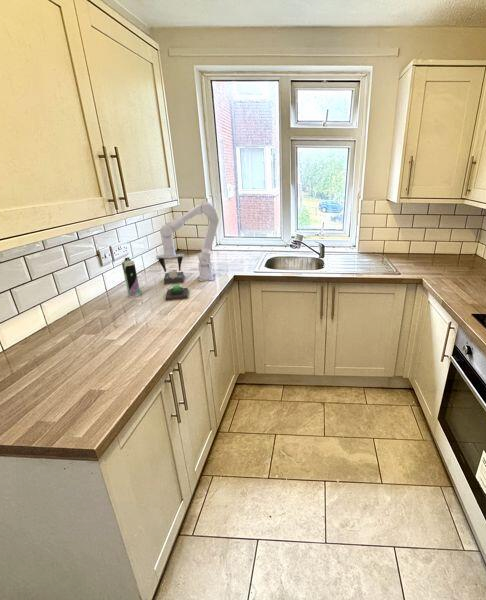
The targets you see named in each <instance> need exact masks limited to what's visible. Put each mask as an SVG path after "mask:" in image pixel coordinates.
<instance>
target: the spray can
mask: <svg viewBox="0 0 486 600" xmlns="http://www.w3.org/2000/svg"><path fill="white" fill-rule="evenodd" d="M121 266H122V270H123V276H124V280H125V285H126V290H127V295H128V297H129V298H137V297H140V296H141V295H142V294H141V289H140V284H139V279H138V274H137V268H136V264H135V261H134V260H132V259H130V256H129V257H128V256H127V257H124V260H123V261H122V262H121Z"/></svg>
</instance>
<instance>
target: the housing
mask: <svg viewBox="0 0 486 600" xmlns="http://www.w3.org/2000/svg"><path fill="white" fill-rule="evenodd" d="M188 293H189V288H188V287H182V286H180V290H177V291H173V288H172V287H171V288H168V289H167V291H166V294H165V301H177V300H186V299H187V300H188Z"/></svg>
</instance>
